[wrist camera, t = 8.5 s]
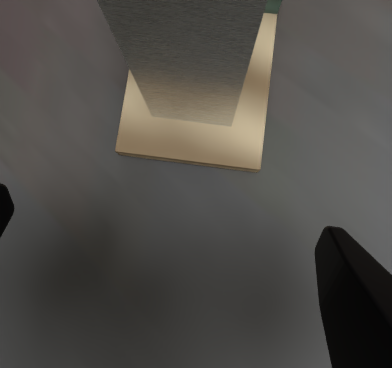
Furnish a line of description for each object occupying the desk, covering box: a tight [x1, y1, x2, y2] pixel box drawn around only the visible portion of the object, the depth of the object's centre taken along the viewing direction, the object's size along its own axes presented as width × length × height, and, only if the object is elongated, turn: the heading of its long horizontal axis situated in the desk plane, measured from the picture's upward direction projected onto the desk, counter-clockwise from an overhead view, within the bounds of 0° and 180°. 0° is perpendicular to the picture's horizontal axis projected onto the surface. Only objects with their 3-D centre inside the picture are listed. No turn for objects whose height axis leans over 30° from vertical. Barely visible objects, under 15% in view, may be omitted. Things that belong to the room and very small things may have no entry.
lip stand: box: [115, 0, 282, 173], centre depth 19 cm, size 12×9×3 cm
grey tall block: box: [97, 0, 267, 127], centre depth 12 cm, size 5×5×14 cm
